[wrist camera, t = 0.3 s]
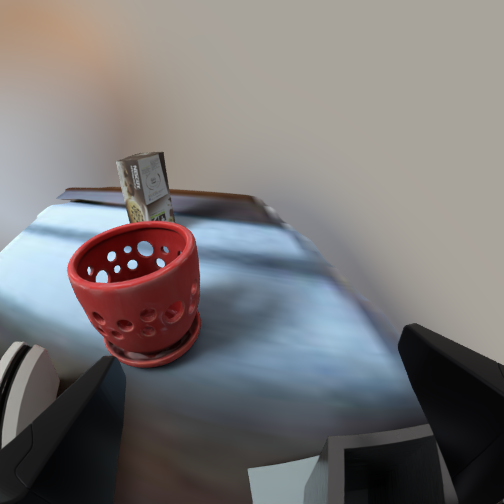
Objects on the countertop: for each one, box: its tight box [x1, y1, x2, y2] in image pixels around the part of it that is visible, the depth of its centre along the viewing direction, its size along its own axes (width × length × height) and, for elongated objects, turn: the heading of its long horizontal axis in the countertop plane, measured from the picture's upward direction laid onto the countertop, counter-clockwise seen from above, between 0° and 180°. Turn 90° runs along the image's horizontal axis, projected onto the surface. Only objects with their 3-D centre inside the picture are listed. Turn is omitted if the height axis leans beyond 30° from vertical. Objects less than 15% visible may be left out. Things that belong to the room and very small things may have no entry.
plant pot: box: [67, 221, 201, 368], centre depth 27 cm, size 13×13×12 cm
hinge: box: [0, 342, 60, 449], centre depth 15 cm, size 17×5×10 cm, turn 14°
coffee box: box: [116, 152, 175, 223], centre depth 54 cm, size 9×6×16 cm
